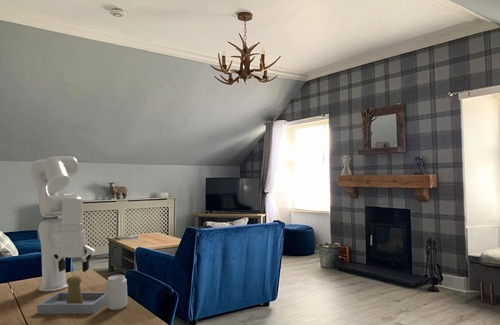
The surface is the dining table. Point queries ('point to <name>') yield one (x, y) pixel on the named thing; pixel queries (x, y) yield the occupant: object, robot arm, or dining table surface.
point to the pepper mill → (74, 290)
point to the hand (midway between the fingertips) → (73, 270)
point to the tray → (60, 306)
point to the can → (116, 292)
